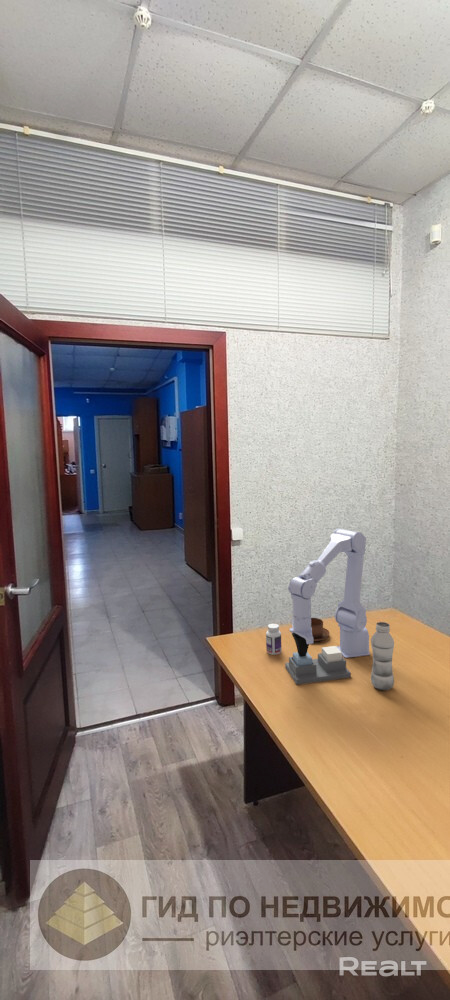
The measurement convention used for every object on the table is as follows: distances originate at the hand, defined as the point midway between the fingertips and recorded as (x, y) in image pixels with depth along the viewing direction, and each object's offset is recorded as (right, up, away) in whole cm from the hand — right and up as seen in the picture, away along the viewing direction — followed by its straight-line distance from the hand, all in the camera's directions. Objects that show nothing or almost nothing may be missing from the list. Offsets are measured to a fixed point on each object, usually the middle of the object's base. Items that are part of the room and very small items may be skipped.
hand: (302, 655), depth 143 cm
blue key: (0, -3, 0) cm, 3 cm away
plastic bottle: (+23, -7, -8) cm, 25 cm away
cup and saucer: (+9, -3, +28) cm, 29 cm away
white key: (+10, -2, +2) cm, 10 cm away
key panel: (+5, -6, +2) cm, 8 cm away
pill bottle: (-7, -5, +17) cm, 19 cm away
